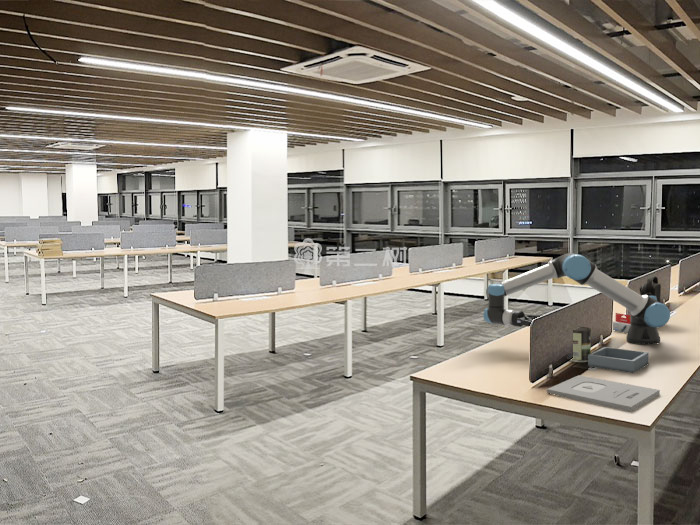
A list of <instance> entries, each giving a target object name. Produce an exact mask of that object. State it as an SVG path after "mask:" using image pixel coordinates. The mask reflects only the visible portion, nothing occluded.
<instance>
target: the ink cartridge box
mask: <svg viewBox="0 0 700 525" xmlns="http://www.w3.org/2000/svg"><path fill="white" fill-rule="evenodd" d="M629 328H630V314H625V313H618V312H615V321H612V331H613V330H615V331H614V332H616V331H619V332H618V333H621V332H624V333H623V334H626V333H628V331H629Z"/></svg>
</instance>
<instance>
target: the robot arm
mask: <svg viewBox="0 0 700 525" xmlns="http://www.w3.org/2000/svg"><path fill="white" fill-rule="evenodd" d="M563 277H568V278H569V279H572V280H573V281H574V282H576V283H577V284H579V285H581V286H584V285H587V286H589V287H591V288H592V289H594V290H595V291H597V292H599V293H601V292H602V293H601V294H602V295H604V296H606V297H607V298H609V299H611V300H613V301H614V302H616V303H617V304H619V305H621V306H622V307H624V308H625V309H627V310H629V313H630V314H629V315H630V328H629V331H628V334H626V342H628V343H630V344H635V343H636V344H638V345H658V344H657V343H659V344H661V336H660V333H659V330H658V328H662V327H664V326H665V325H666V324H667V323H668V322H669V320H670V317H671V311H670V309H669V307H668V306H667V305H666V304H665V303H662V302H661V303H659V302H658V301H657V298H656V296H648V295H641V294H639V293H638V292H636V291H635V290H633V289H631V288H629V287H628V286H626V285H625V284H623V283H622V282H620V281H618V280H617V279H615V278H612V277H611V276H609V275H608V274H606V273H604V272H603V271H601V270H599V269H598V267H597V264H596V263H594V262H592V261H591V260H589V259H587V257H585V256H584V255H583V254H578V253H577V254H576V253H573V252H569V253H564V254H561V255H560V256H558V257H555V258H554V259H551V260H549V261H548V263H547V264H544V265H542V266H539V267H536V268H534V269H531V270H529V271H526V272H523V273H521V274H520V273H519V274H518V275H516V276H514V277H511V278H508V279H505V280H503V281H500V282H497V283H493V284H488V286H487V287H486V289H485V290H486V291H485V295H486V297H487V298H488V307H486V308H485V309H484V311H483V314H482V315H483V317H482V318H483V320H484V321H485V322H486V323H489V324H493V325H495V324H496V325H505V326H507V327H510V326H512V327H520V328H521V327H523V326H526V327H529V326H530V324H531V322H532V320H533V319H535V318H537V317H540V316H543V315H544V314H543V315H542V314H541V315H539V314H538V315H537V314H536V315H535V314H525V312H524V311H523V310H514V309H505V297H507V296H510V295H512V294H514V293H517V292H519V291H523V290H525V289H528V288H531V287H532V286H536V285H539V284H542V283H544V282H546V281H549V280H551V279H557V280H558V279H560V278H563ZM529 328H530V327H529ZM636 344H635V345H636Z"/></svg>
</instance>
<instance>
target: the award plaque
mask: <svg viewBox="0 0 700 525" xmlns="http://www.w3.org/2000/svg"><path fill="white" fill-rule="evenodd" d="M547 393H551V394H555V395H554V396H556V395H559V396H558V397H561V396H562V397H561V398H565V397H566V399H570V400H574V401H580V402H584V403H588V404H589V403H590V404H593V405H597V406H603V407H607V408H612V409H617V410H622V411H625V412H630V413H631V412H633V411H635V410H637V409H638V408H640V407H641V406H643V405H645V404H646V403H648V402H651V401H652V400H653V399H655V398H657V397H658V396H659V395H660V393H661V392H660V389H657V388H651V387H646V386H640V385H634V384H629V383H623V382H618V381H613V380H606V379H602V378H596V377H590V376H585V375H580V374H578V375H577V376H574V377H572V378H570V379H567V380H565V381H562V382H560V383H558V384H555V385H553V386H551V387H549V388H546V394H547ZM551 394H550V395H551Z"/></svg>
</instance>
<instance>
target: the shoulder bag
mask: <svg viewBox="0 0 700 525" xmlns="http://www.w3.org/2000/svg"><path fill="white" fill-rule="evenodd" d="M661 287H662V286H661V283H659V279H658V277H657V276H653V275H650V276H648V278H647V280H646V283H644V284H642V285H640V286H639V293H640V295H648V296H656V298H657V301H658V302H659V303H662V302H661V300H662V299H661V290H662V288H661Z"/></svg>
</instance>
